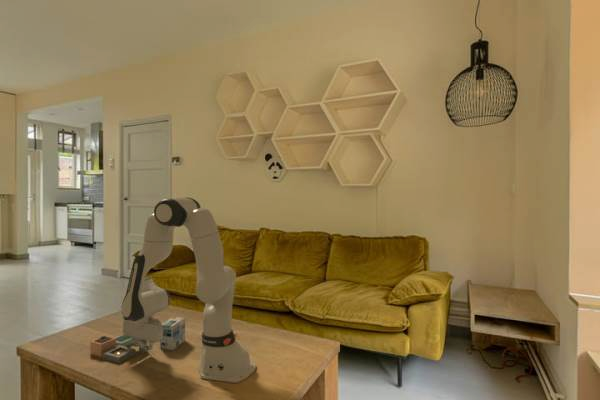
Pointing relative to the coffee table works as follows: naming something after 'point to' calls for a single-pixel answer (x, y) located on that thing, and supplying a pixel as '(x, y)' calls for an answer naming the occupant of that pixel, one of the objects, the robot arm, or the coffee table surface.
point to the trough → (124, 340)
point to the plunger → (118, 352)
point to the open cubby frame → (101, 346)
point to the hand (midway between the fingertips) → (142, 348)
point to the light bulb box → (173, 333)
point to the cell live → (143, 346)
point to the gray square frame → (121, 357)
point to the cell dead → (103, 339)
